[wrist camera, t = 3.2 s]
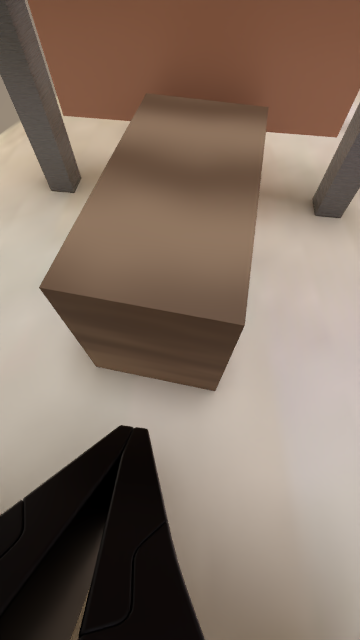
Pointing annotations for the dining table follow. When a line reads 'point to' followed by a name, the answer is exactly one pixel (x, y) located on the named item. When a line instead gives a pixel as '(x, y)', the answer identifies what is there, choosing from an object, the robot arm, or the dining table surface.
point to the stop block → (166, 243)
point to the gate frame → (52, 140)
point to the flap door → (205, 56)
